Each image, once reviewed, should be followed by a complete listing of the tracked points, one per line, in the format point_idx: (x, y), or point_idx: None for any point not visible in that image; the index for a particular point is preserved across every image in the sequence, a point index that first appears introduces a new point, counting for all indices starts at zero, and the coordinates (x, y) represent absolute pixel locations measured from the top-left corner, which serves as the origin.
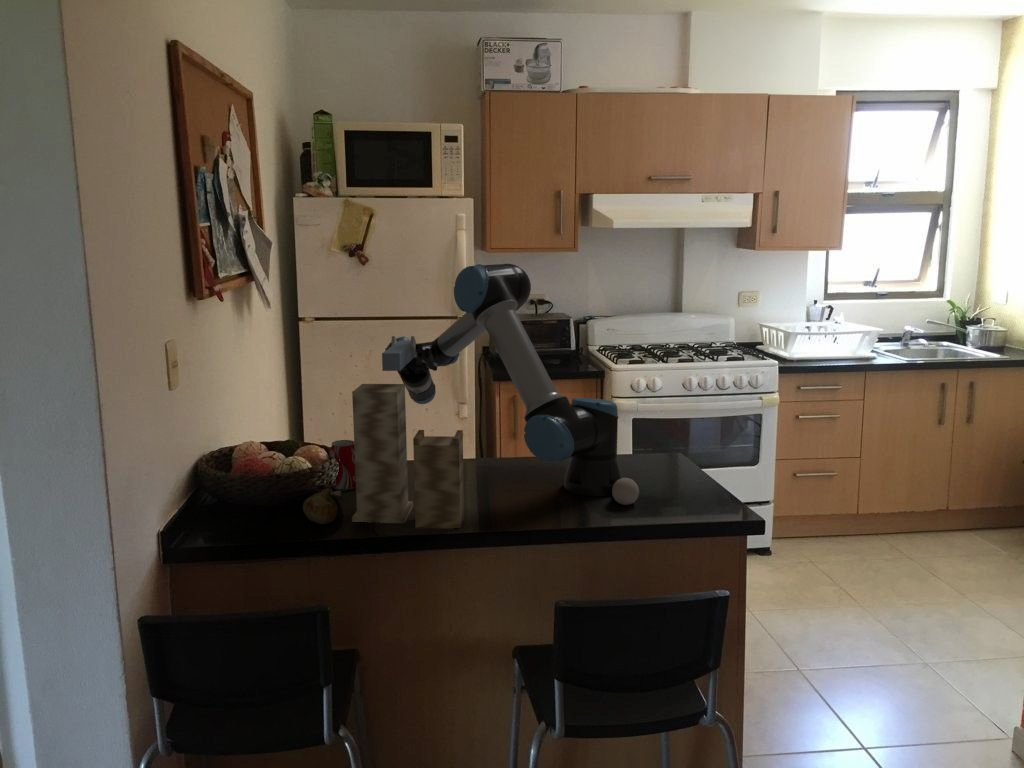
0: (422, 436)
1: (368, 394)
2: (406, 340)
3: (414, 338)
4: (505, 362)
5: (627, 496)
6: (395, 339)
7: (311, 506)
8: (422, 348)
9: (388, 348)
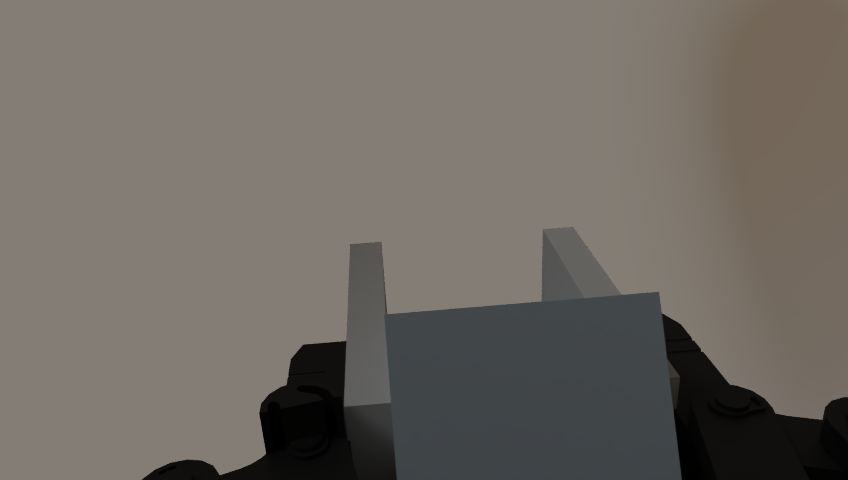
0: None
1: None
2: (530, 303)
3: (350, 269)
4: None
5: None
6: (554, 263)
7: None
8: (268, 458)
9: (830, 407)
